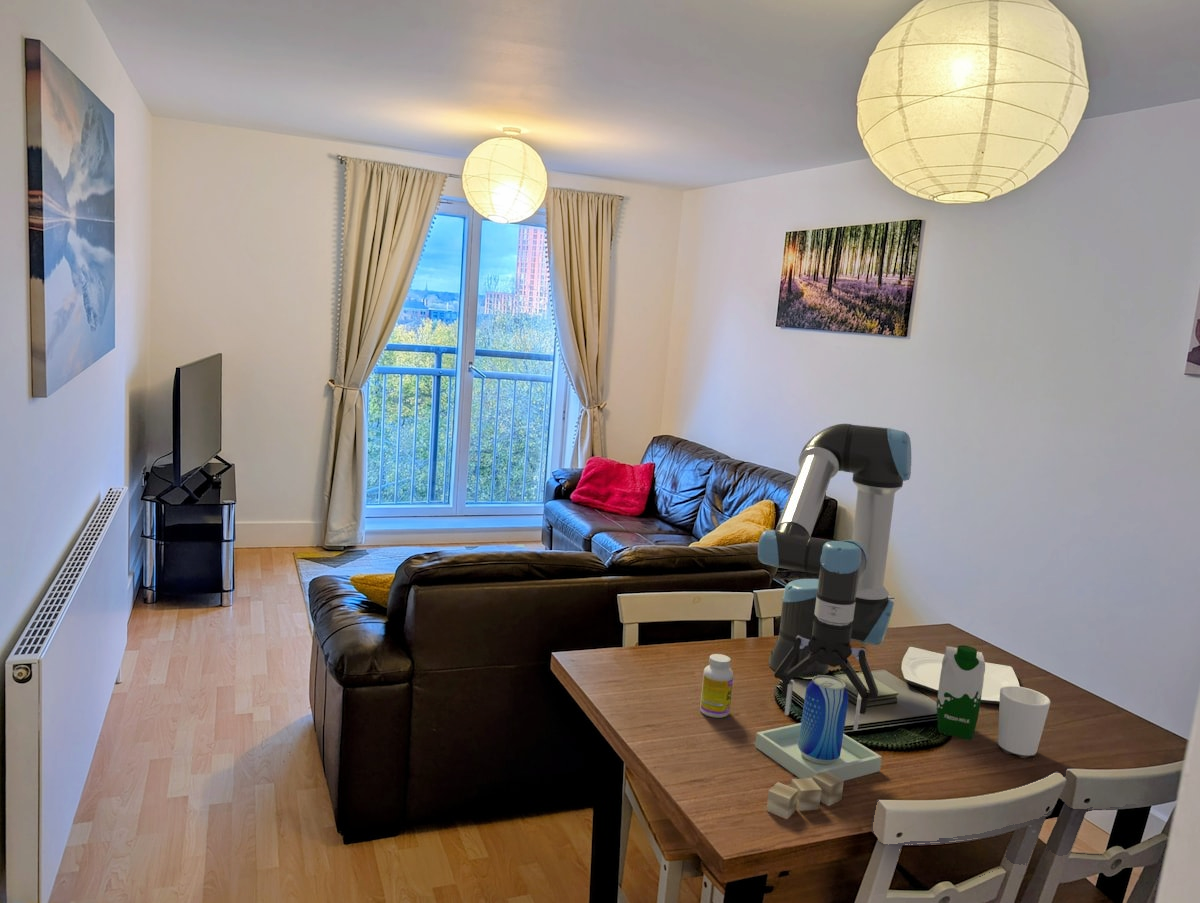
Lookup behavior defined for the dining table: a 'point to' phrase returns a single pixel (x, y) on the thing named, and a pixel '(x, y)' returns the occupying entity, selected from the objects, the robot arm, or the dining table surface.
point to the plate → (926, 674)
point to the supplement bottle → (717, 687)
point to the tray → (786, 753)
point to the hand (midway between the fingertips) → (821, 720)
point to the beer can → (823, 719)
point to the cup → (1021, 720)
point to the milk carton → (960, 691)
